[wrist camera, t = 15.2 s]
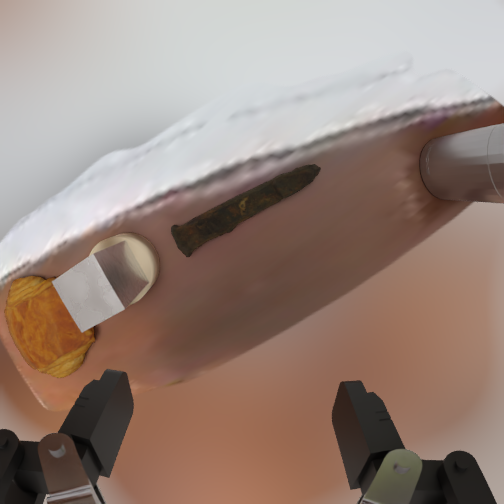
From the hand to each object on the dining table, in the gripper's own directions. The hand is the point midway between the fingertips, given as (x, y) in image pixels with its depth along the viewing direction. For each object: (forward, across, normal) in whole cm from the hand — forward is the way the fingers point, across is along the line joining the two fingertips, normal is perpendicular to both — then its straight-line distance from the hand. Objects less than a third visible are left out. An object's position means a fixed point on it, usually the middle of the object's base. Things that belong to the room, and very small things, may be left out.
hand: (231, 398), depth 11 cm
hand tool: (+30, 0, -3) cm, 30 cm away
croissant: (+26, +27, +14) cm, 40 cm away
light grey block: (+23, +14, +4) cm, 27 cm away
